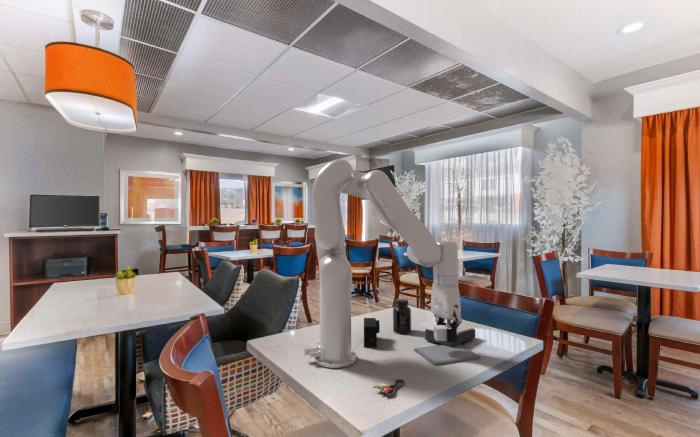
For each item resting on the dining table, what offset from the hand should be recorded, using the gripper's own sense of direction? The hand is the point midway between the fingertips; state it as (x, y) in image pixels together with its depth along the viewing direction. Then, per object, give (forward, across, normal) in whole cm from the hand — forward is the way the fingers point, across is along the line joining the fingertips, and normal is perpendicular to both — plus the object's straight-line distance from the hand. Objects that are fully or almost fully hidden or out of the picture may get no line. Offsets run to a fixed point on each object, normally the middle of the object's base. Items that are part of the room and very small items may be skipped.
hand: (446, 337), depth 102 cm
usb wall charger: (+1, 0, 0) cm, 1 cm away
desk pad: (+5, 0, 0) cm, 5 cm away
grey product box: (+5, -10, +9) cm, 14 cm away
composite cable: (+5, +15, -26) cm, 30 cm away
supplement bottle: (+5, -24, -3) cm, 25 cm away
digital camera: (+5, -17, -18) cm, 26 cm away
